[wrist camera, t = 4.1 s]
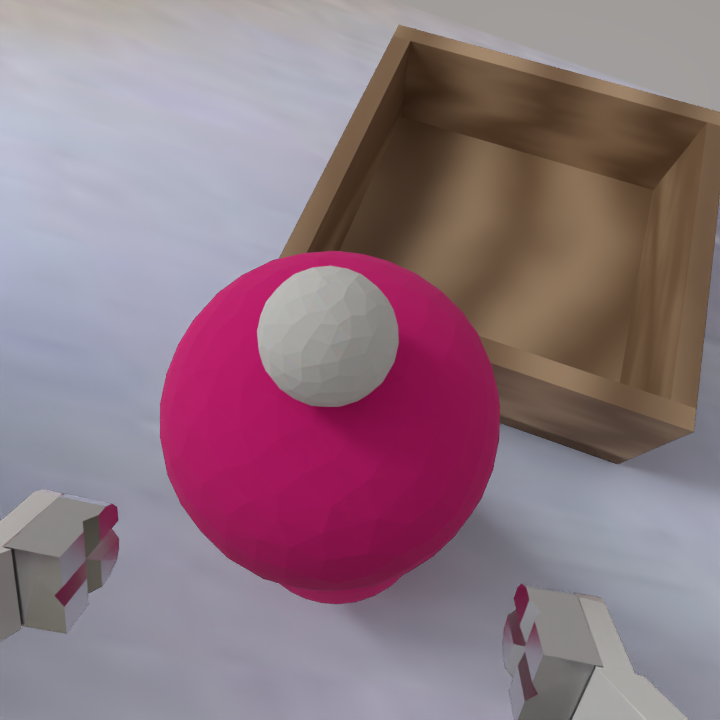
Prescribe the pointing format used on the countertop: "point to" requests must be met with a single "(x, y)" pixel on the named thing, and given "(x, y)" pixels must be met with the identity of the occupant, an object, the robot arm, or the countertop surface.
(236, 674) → the countertop surface
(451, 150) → the tray
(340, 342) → the pepper mill
